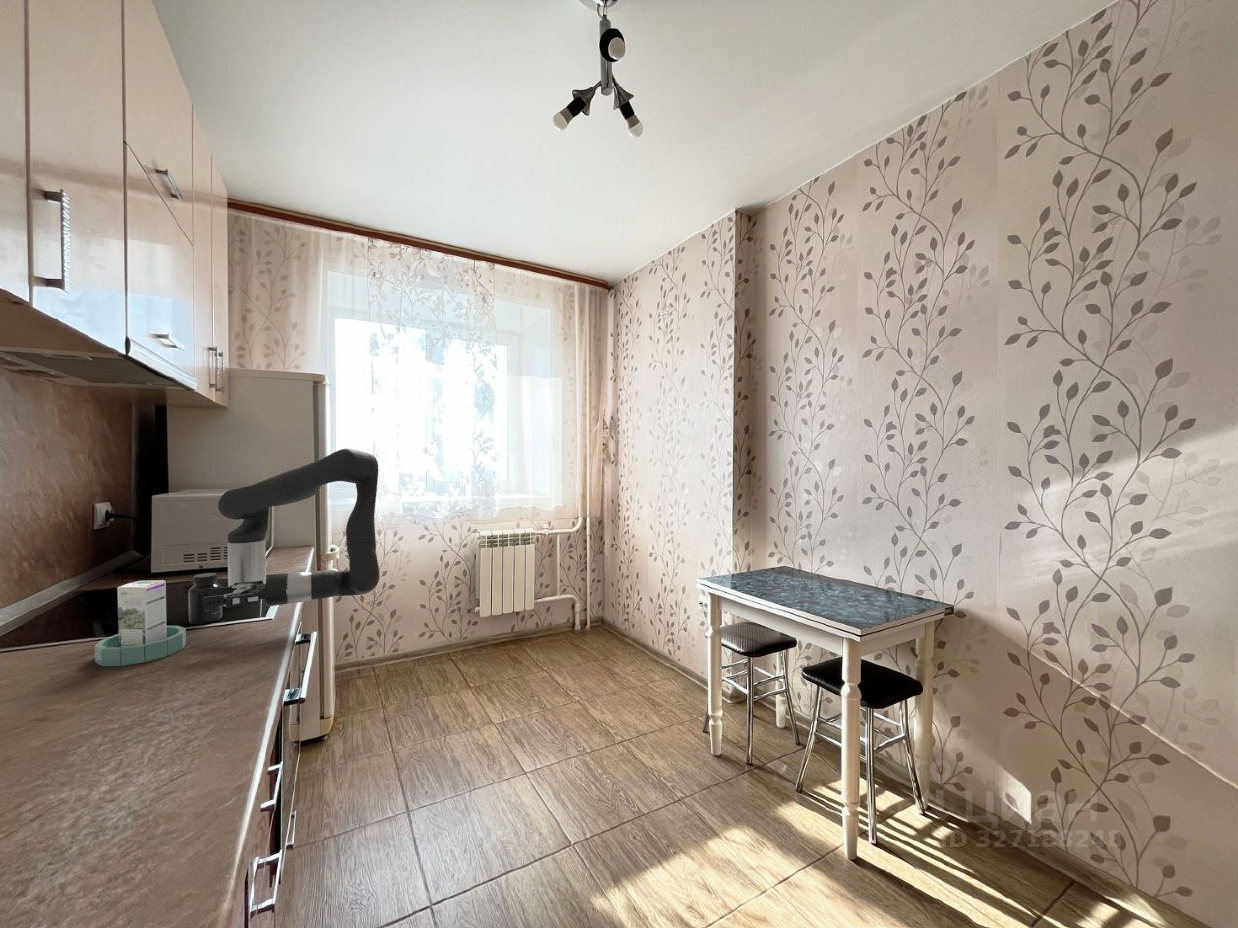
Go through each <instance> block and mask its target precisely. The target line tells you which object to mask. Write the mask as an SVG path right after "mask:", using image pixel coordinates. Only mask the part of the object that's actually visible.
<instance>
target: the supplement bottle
mask: <svg viewBox="0 0 1238 928" xmlns="http://www.w3.org/2000/svg"><path fill="white" fill-rule="evenodd" d="M192 584H193V586H191V587H190V588H189V589H188V621H189V623H190V624H192V625H202V624H203V623H205V624H209V623H208V622H210V623H213V622H212V621H214V622H216V620H217V621H219V620H220V619H222V617H223V605H221V606H213V607H205V608H204V607H202V599H203V598H204V597H209V590H210V589H211V588H218V587H223V586H222V584H221V583H219V582H218V574H217V573H216V572H207V573H206V572H205V573H199V574H196V575H194V576H193V582H192ZM203 625H204V624H203Z"/></svg>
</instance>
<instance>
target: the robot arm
mask: <svg viewBox="0 0 1238 928" xmlns="http://www.w3.org/2000/svg"><path fill="white" fill-rule="evenodd" d="M378 480H379V463H378V460H377V458H376V456H375V455H374V454H372V453H369V452H365V451H362V450H358V449H353V448H342V449H339V450H337V451H334V452H332V453H330V454H328V455H327V456H324V457H322V458H321V459H319V460H315V461H313V462H311V463H307V464H305V465H302V466H299V467H295V468H293V469H289V470H287V471H284V472H282V473H279V474H276V475H273V476H272V477H269V478H266V479H263V480H261V481H259V482H257V483H254V484H251V485H247V486H243V487H237V488H232V489H229V490H227V491H225V492H224V493H223V494H222V495H221V496H220V498H219V500H218V504H217V509H218V511H219V513H220V514H221V515H222V516H223V517H224V518H226V519H229V520H242V523H241V524H240V525H239V526H238V527H236V528H234V529H233V530H231V531H230V532H229V533H227V582H228V583H227V586H222V587H218V588H211V589H210V590H209V597H204V598H203V599H202V607H204V608H205V607H213V606H221V605H222V606H223V607H225V608H226V609H231V608H237V607H245V606H250V605H257V604H259V600H263V599H264V600H265V605H266V606H267V607H274V606H275V607H276V606H283V605H291V604H299V603H303V602H304V603H305V602H308V601H311V600H314V601H315V600H319V599H320V600H321V599H327V598H332V597H333V598H334V597H344V596H345V597H346V596H347V597H349V596H360V595H361V596H362V595H365V594H368V593H370V592H372V591H373V590H374V589H375V588H376V587H377V586H378V584H379V582H380V567H379V562H378V556H377V543H376V542H377V539H376V528H375V527H376V526H375V525H376V524H375V514H376V503H377V502H376V501H377V491H378ZM334 482H343V483H344V482H345V483H349V484H350V483H351V484H355V489H356V500H355V503H354V504H355V505H354V506H353V508H352V511H351V513H350V515H349V518H348V520H347V522H346V527H345V536H346V537H345V539H346V541H345V542H346V552H347V556H348V564H349V566H348V567H349V569H346V570H333V569H324V570H317V571H316V570H314V571H296V572H293V571H292V572H282V573H273V574H268V575H267V572H266V571H267V567H266V565H267V564H266V563H267V559H266V553H267V552H266V534H267V532H268V528H269V515H270V514H269V513H270V508H272V507H279V506H285V505H290V504H294V503H298V502H302V501H304V500H307V499H309V498H312V497H313V496H316V494H318V492H319V491H320V489H321V487H322V486H324V485H327V484H330V483H334Z"/></svg>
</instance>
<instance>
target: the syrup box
mask: <svg viewBox="0 0 1238 928" xmlns="http://www.w3.org/2000/svg"><path fill="white" fill-rule="evenodd" d="M166 587H167V585H166V580H137V581H132V582H129V583H126V584H123V585H121V586H117V589H116V590H117V618H118V619H117V621H118V622H117V624H118V634H119V647H129V646H136V645H143V644H148V643H152V642H156V641H159V640H163V639H166V638H167V626H168V625H167V590H166V589H167V588H166Z"/></svg>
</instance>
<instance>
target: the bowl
mask: <svg viewBox="0 0 1238 928" xmlns="http://www.w3.org/2000/svg"><path fill="white" fill-rule="evenodd" d="M166 626H167V638H166V639H163V640H159V641H156V642H152V643H148V644H143V645H136V646H129V647H119V633H116V634H114V635H111V636H109V637H106V638H103V639H101V640H100V641H99V642H98V643H96V644H95V646H94V661H95V662H94V663H96V664H97V665H98V666H101V667H123V666H130V665H136V664H141V663H147V662H151V661H154V660H157V659H161V658H164V657H165V658H166V657H168V655H169V656H171V655H173V654H175V653H176V652H179V651H181V650H184V647H185V646H186V644H187V633H186V632H187V628H185V627H183V626H180V625H166ZM180 649H181V650H180ZM178 650H179V651H178ZM174 652H175V653H174ZM172 653H173V654H172ZM170 654H171V655H170Z"/></svg>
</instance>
